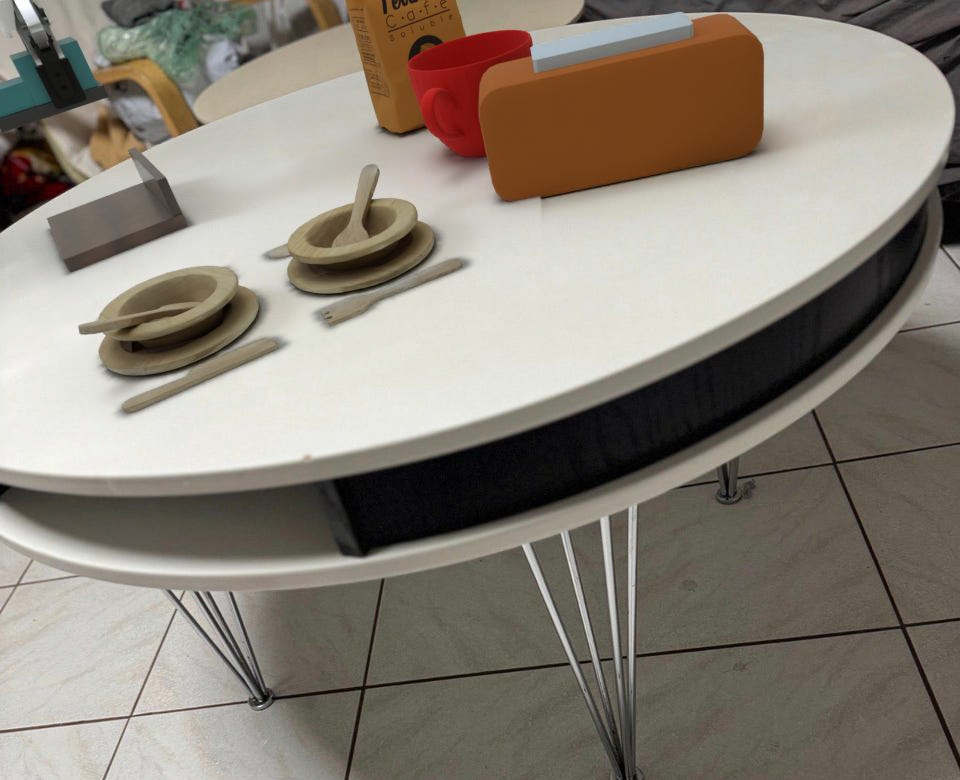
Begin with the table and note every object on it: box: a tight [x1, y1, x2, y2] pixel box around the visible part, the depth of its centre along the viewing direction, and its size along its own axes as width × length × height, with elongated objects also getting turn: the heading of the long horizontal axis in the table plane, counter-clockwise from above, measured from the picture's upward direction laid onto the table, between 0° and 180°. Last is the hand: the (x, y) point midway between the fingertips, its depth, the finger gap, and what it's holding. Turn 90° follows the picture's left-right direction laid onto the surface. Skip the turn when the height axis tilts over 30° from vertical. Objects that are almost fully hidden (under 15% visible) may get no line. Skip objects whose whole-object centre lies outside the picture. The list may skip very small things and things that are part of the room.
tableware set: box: [77, 163, 463, 414], centre depth 68 cm, size 30×20×6 cm, turn 118°
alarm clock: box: [479, 11, 765, 202], centre depth 73 cm, size 24×8×11 cm, turn 89°
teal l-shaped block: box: [0, 36, 110, 133], centre depth 84 cm, size 11×5×6 cm, turn 120°
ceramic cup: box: [407, 29, 534, 159], centre depth 84 cm, size 13×17×10 cm
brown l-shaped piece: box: [46, 147, 189, 273], centre depth 92 cm, size 13×18×6 cm
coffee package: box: [345, 0, 467, 134], centre depth 95 cm, size 10×12×22 cm
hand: (67, 98), depth 86 cm, fingers closed on teal l-shaped block, 5 cm apart
